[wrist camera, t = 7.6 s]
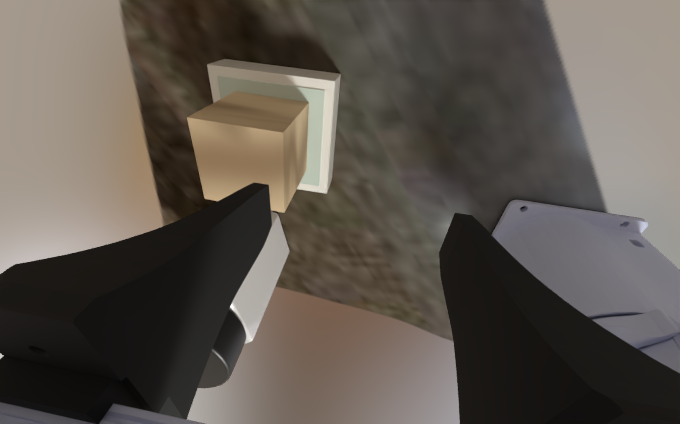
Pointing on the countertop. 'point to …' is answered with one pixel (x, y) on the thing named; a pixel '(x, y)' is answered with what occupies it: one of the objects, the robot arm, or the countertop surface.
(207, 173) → the oak block
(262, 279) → the jar
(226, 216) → the robot arm
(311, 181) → the tile base
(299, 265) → the countertop surface
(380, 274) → the countertop surface
